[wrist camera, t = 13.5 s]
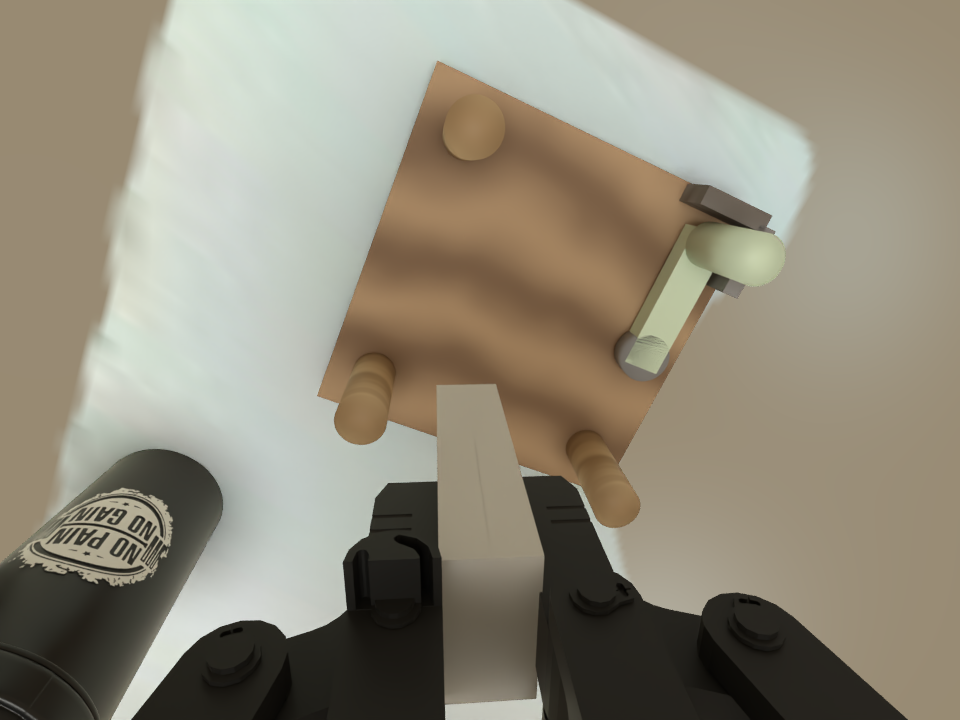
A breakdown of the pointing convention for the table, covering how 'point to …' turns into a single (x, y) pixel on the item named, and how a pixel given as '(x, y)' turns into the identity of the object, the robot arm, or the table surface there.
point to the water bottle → (100, 586)
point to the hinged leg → (693, 288)
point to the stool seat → (518, 284)
